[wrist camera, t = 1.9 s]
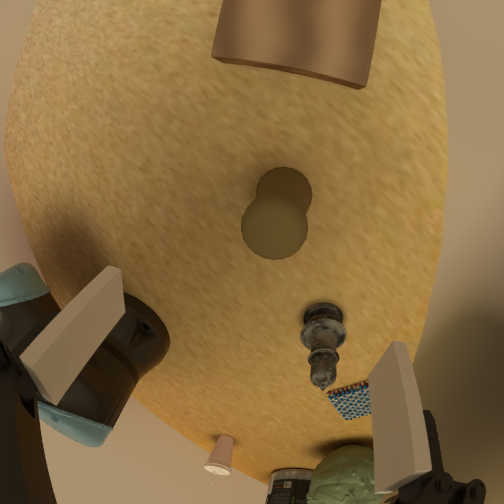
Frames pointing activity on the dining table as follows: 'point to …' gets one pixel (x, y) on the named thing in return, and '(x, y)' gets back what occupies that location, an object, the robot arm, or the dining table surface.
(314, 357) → the salt shaker
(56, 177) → the dining table surface
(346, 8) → the walnut base
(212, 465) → the smoothie
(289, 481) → the supplement tub
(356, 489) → the green monster head
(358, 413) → the woven mat
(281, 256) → the olive brown knobbed peg
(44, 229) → the dining table surface
